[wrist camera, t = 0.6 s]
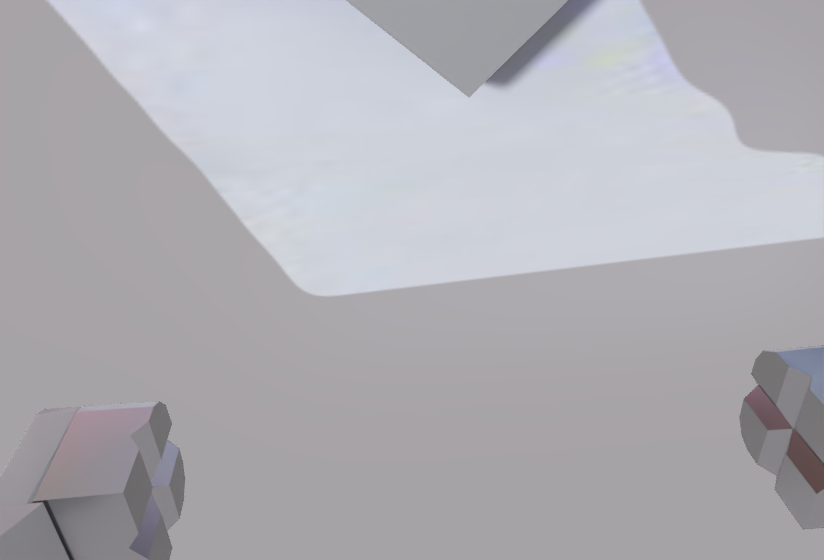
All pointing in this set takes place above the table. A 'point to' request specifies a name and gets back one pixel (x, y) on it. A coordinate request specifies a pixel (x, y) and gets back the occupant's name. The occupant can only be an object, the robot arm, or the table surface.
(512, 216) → the table surface
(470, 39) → the socket plate
